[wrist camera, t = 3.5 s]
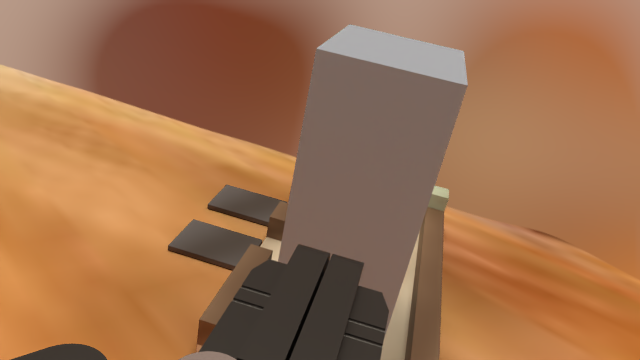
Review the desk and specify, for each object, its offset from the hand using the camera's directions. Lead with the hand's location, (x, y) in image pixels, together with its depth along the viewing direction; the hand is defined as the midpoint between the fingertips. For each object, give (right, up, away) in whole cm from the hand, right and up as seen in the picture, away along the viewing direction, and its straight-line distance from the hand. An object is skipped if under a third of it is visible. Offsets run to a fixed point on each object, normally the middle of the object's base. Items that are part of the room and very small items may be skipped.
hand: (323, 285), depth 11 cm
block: (0, -4, +14) cm, 14 cm away
